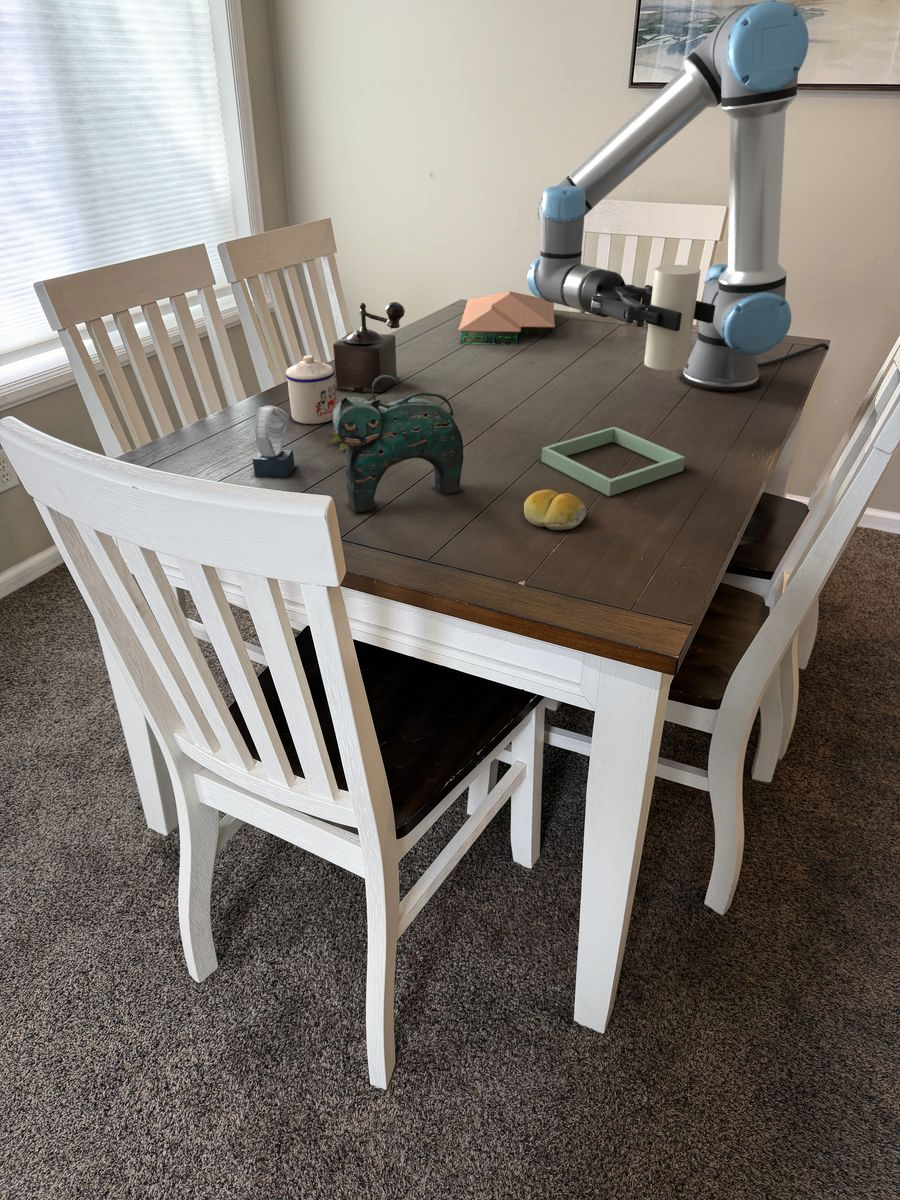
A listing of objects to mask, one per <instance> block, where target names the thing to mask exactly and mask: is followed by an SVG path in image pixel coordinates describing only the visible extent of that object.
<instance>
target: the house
mask: <svg viewBox="0 0 900 1200" xmlns="http://www.w3.org/2000/svg"><path fill="white" fill-rule="evenodd" d="M522 328H523V329H524V330H526V329H525V328H537V329H536V331H538V330H539V329H538V328H549V332H548V334H551V328H555V303H553V302H552V303H551V302H548V301H546V300H544V299H542V298H539V297H537V296H535V295H534V296H533V295H529V294H526V293H525V294H524V293H519V292H514V291H509V290H508V291H505V292H499V293H493V294H489V295H484V296H480V297H474V298H469V299H467V301H466V305H465V308H464V310H463V314H462V317H461V320H460V324H459V327H458V330H457V332H461V344H464V340H465V338H466V334H467V332H471V339H472V342H471V343H470V342H465V344H469V345H470V344H473V345H475V344H476V345H477V344H478V345H481V344H482V345H489V342H488V343H487V339H488V338H492V345H495V343H494V342H495V338H498V335H496V333H503V336H502V335H500V336H499V339H501V338H503V341H502V342H503V343H502V345H505V343H504V341H505V338H506V339H511V338H512V339H515V342H513V343H512V345H517V343H518V334H519V333H521V331H522ZM528 331H529V330H527V332H526V334H529V332H528ZM474 332H476V335H474ZM479 332H484V335H479ZM488 333H492V335H488ZM506 333H510V336H505V335H506ZM512 333H513V335H515V336H512ZM539 334H542V332H541V330H540V331H539ZM467 338H470V335H467ZM474 338H484V340H482V342H474ZM483 341H484V342H483Z"/></svg>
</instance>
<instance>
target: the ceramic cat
mask: <svg viewBox="0 0 900 1200" xmlns="http://www.w3.org/2000/svg"><path fill="white" fill-rule="evenodd" d="M381 378H390V379H392V380H393V381H394V383H395V384H397V383H398V380H397V378H396V379H395V378H393V377H392V376H389V375H382V376H379V377H378V378H376V379H375V380H374V382H373V385H372V392H371V397H372V399H373V400H371V401H370V400H367V399H365V398H362V397H357V396H349V397H346V396H345V397H344V398H343V399H342V400H341V401H340V402H338V403H336V407H335V409H334V412H333V420H332V427H333V429H334V432H336V433H337V435H338V437H339V438H340V440H339V441H341V443H342V442H343V443H344V444H346V445H347V446H346V449H345V467H344V470H345V477H346V492H347V499H348V504H349V506H350V508H351V510H353V512H354V513H355V514H362V513H366V512H371V511H373V510H374V507H375V505H374V503H375V496H376V492H377V488H378V485H379V484H380V481H381V479H382V478H383V476H384V474H385V473H386V471H387V470H388V469H389V468H390V467H392V466H394V465H397V464H399V463H401V462H403V461H406V460H411V459H422V460H425V461H427V462H429V464H431V465H432V466H433V472H434V487H435V488H436V490H437V491H438V492H439V493H440V494H442V495H451V494H454V493H458V492H459V491H460V485H461V476H462V471H463V464H464V457H465V456H464V455H465V454H464V441H463V437H462V433H461V431H460V429H459V426H458V425H457V422H456V420H455V419H454V417H453V416H454V410H453V407H452V405H451V404H452V403H450V401H449V400H448V399H447V398H446V396H443V395H442V394H440V393H437V392H418V393H414V394H411V395H408V396H407V397H405V398H403V399H399V400H394V401H391V402H387V403H386V404H385V403H381V399H377V398H376V396H375V392H374V385H375V383H376V382H377V381H378V380H379V379H381ZM422 396H424V397H425V396H426V397H437V398H439V399H440V400H442V401H443V402H444V403H446V404H447V406H448V408H449V411H450V412H449V411H448V410H446V409H445V408H444V407H442V406H441V405H439V404H438V403H436V402H435V401H432V400H429V399H425V398H417V397H422Z"/></svg>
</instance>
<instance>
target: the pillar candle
mask: <svg viewBox="0 0 900 1200" xmlns="http://www.w3.org/2000/svg"><path fill="white" fill-rule="evenodd" d="M701 271H702V270H701V268H700V267H696V266H693V265H687V264H664V265H659V266H658V265H657V266H656V267H655V268H654V273H653V275H654V276H653V283H652V286H653V290H652V298H651V305H654V306H658V307H662V308H665V309H669V310H673V311H677V312H680V313H682V316H681V323H680V331H673V330H669V329H666V328H662V327H659V326H655V325H652V324H649V323H647V324H648V325H647V334H646V343H645V351H644V361H643V364H644V366H646V367H647V368H649V369H653V370H657V371H667V372H668V371H680V370H684V368H685V367H686V366H687V362H688V359H689V356H690V354H689V353H690V348H691V347H690V346H691V342H692V341H691V339H692V334H693V326H694V320H695V319H694V313H695V306H696V301H697V299H698V292H699V286H700V279H701Z"/></svg>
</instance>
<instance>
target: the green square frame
mask: <svg viewBox="0 0 900 1200" xmlns="http://www.w3.org/2000/svg"><path fill="white" fill-rule="evenodd" d="M610 443H615V444H617V445H619V446H621V447H624V448H626V449H628V450H630V451H633V452H636V453H637V454H639V455H642V456H644V457H646V458H649V459H650V460H652V461H655V462H657V463H654V464H652V465H648V466H646V467H642V468H639V469H637V470H634V471H630V472H627V473H624V474H622V475H619V476H616V477H612V478H609V477H608V476H606V475H604V474H602V473H600V472H597V471H596V470H593V469H591V468H589V467H587V466H586V465H583V464H581V463H580V462H577V461H575V460H573V459H571V458H569V457H568V456H571V455H574V454H578V453H581V452H584V451H588V450H591V449H594V448H597V447H600V446H604V445H608V444H610ZM685 459H686V456H684V455H682V454H679V453H678V452H675V451H673V450H671V449H668V448H666V447H664V446H661V445H659V444H656V443H654V442H652V441H649V440H647V439H645V438H643V437H640V436H638V435H635V434H634V433H631V432H629V431H627V430H624V429H621V428H619V427H616V426H611V427H608V428H605V429H601V430H598V431H594V432H590V433H587V434H584V435H580V436H578V437H574V438H571V439H568V440H567V439H566V440H564V441H560V442H557V443H553V444H550V445H547V446H543V447H541V463H544V464H546V465H547V466H549V467H552V468H553V469H555V470H557V471H559V472H561V473H563V474H565V475H567V476H569V477H571V478H573V479H574V480H577V481H578V482H581V483H582V484H584V485H586V486H588V487H590V488H591V489H594V490H596V491H598V492H599V493H601V494H604V495H606V496H607V497H612V496H614V495H617V494H621V493H623V492H626V491H629V490H632V489H635V488H637V487H641V486H644V485H646V484H649V483H653V482H654V481H657V480H660V479H663V478H666V477H670V476H672V475H675V474H678V473H680V472H683V471H684V467H685V461H686V460H685Z"/></svg>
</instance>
